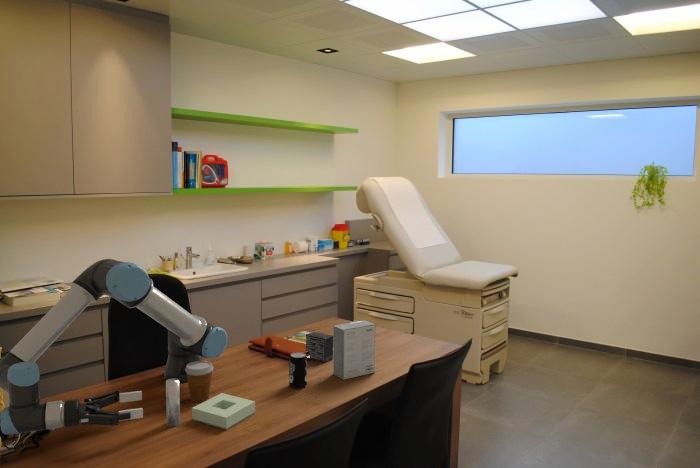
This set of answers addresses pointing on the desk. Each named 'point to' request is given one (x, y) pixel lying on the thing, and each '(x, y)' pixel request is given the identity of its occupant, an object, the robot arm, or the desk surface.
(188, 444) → the desk surface
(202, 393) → the disposable coffee cup
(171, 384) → the pin
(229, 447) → the desk surface
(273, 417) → the desk surface
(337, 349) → the hard drive box
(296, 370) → the beverage can
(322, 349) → the small box
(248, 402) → the socket block
